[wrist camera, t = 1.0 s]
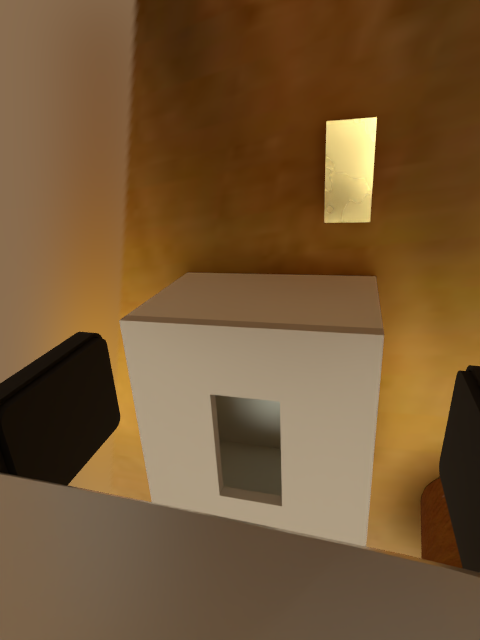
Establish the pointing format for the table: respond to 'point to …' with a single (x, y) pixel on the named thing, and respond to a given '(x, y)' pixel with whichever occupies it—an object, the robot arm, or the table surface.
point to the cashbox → (260, 397)
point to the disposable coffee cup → (437, 527)
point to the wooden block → (349, 170)
